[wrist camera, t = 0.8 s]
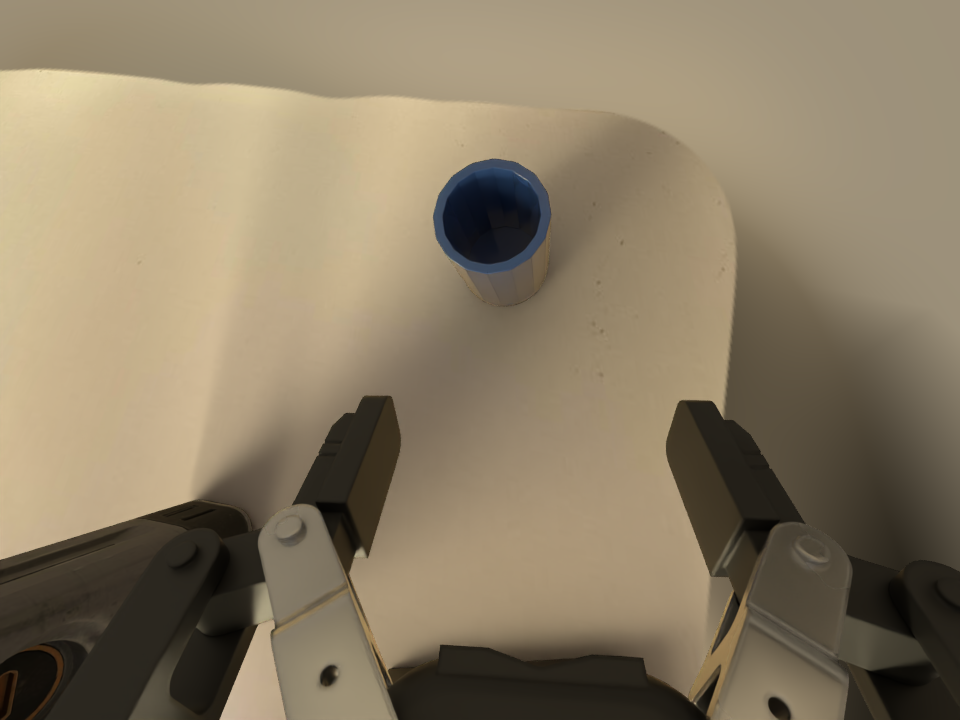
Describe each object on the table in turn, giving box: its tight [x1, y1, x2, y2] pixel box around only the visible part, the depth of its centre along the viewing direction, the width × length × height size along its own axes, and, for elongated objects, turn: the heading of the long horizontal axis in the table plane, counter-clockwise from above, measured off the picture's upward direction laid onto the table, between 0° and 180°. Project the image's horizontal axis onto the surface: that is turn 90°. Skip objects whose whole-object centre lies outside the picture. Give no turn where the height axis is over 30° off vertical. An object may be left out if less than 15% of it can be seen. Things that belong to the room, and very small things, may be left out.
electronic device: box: [0, 500, 252, 720], centre depth 20 cm, size 9×6×20 cm, turn 173°
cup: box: [433, 159, 551, 306], centre depth 24 cm, size 6×6×8 cm
